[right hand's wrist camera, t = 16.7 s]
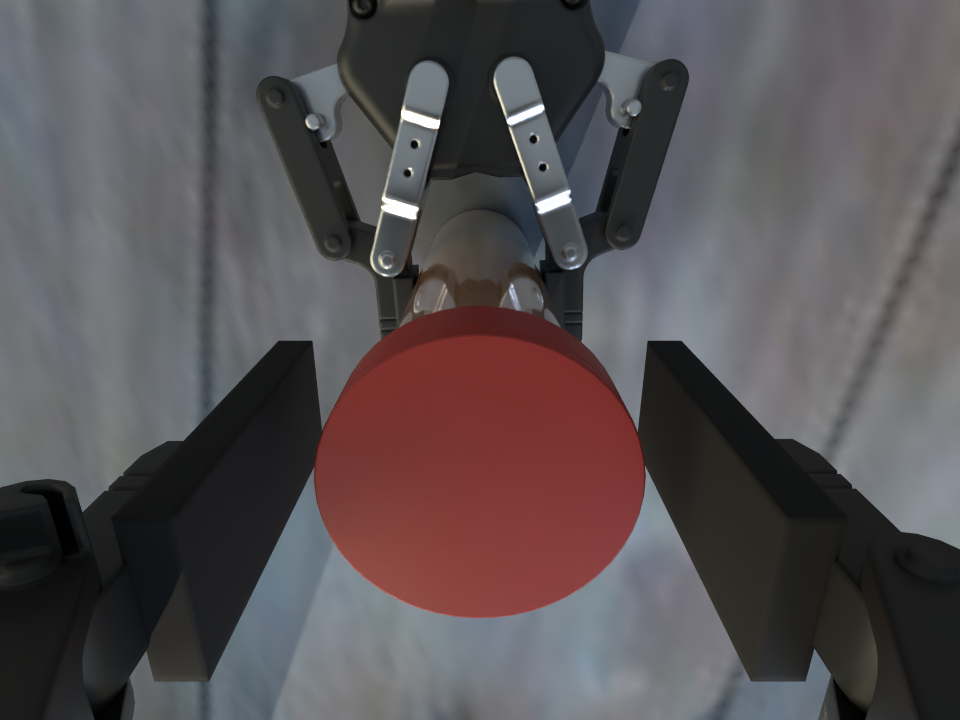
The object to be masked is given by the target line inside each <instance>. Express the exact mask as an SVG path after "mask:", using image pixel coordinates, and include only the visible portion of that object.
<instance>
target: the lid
mask: <svg viewBox="0 0 960 720" xmlns="http://www.w3.org/2000/svg"><path fill="white" fill-rule="evenodd" d="M645 478H646V474H645V460H644V454H643V449H642V445H641V440H640V437H639V435H638V432H637V430H636V427H635V425H634V422H633V420H632V418H631V416H630V414H629V412H628V410H627V408H626V406H625V404H624V402H623V401H622V399H621V397H620V395H619V393H618V391H617V389H616V387H615V385H614V383H613V382H612V380H611V378H610V376H609V375H608V373H607V371H606V370H605V368H604V367H603V365H602V364H601V363H600V362H599V360H598V359H597V358H596V357H595V355H594V354H593V353H592V352H591V351H590V350H589V349H588V348H587V347H586V346H585V345H584V344H583V343H582V342H580V341H579V340H578V339H577V338H575V337H574V336H573V335H571V334H570V333H568V332H567V331H566V330H564V329H563V328H561V327H559V326H557V325H555V324H553V323H551V322H549V321H547V320H545V319H543V318H540V317H537V316H535V315H532V314H529V313H527V312H522V311H518V310H514V309H509V308H503V307H493V306H464V307H457V308H451V309H445V310H441V311H438V312H434V313H431V314H427V315H424V316H422V317H420V318H417V319H415V320H413V321H410V322H408V323H406V324H404V325H403V326H401V327H399V328H398V329H396V330H394V331H393V332H391V333H389V334H388V335H387V336H386V337H384V338H383V339H382V340H381V341H379V342H378V343H377V344H376V345H375V346H374V347H373V348H372V349H371V350H370V351H369V352H368V353H367V354H366V355H365V356H364V357H363V358H362V359H361V361H360V362H359V364H358V365H357V367H356V368H355V369H354V371H353V372H352V374H351V375H350V377H349V379H348V381H347V383H346V385H345V387H344V389H343V391H342V393H341V394H340V396H339V398H338V400H337V402H336V404H335V406H334V408H333V410H332V412H331V414H330V416H329V418H328V420H327V422H326V424H325V426H324V428H323V431H322V434H321V437H320V440H319V443H318V446H317V452H316V458H315V465H314V485H315V492H316V498H317V504H318V507H319V510H320V514H321V517H322V520H323V522H324V525H325V527H326V529H327V531H328V533H329V535H330V537H331V539H332V540H333V542H334V544H335V545H336V547H337V548H338V550H339V551H340V553H341V554H342V555H343V556H344V557H345V559H346V560H347V561H348V562H349V563H350V564H351V566H352V567H353V568H354V569H355V570H357V571H358V572H359V573H360V574H361V575H362V576H363V577H364V578H365V579H366V580H368V581H369V582H371V583H372V584H373V585H375V586H376V587H378V588H379V589H380V590H382V591H384V592H385V593H387V594H389V595H391V596H393V597H394V598H396V599H398V600H400V601H403V602H405V603H407V604H410V605H412V606H415V607H417V608H421V609H424V610H427V611H431V612H434V613H439V614H444V615H450V616H456V617H468V618H494V617H502V616H510V615H516V614H520V613H525V612H529V611H533V610H536V609H539V608H542V607H545V606H548V605H550V604H553V603H555V602H557V601H559V600H561V599H563V598H565V597H568V596H569V595H571V594H572V593H574V592H576V591H577V590H579V589H581V588H582V587H584V586H585V585H586V584H588V583H589V582H590V581H592V580H593V579H594V578H595V577H597V576H598V575H599V574H600V573H601V572H602V571H603V570H604V569H605V568H606V567H607V566H608V565H609V564H610V563H611V562H612V561H613V560H614V558H615V557H616V556H617V554H618V553H619V552H620V551H621V549H622V548H623V547H624V545H625V543H626V541H627V540H628V538H629V536H630V534H631V533H632V531H633V529H634V526H635V524H636V521H637V519H638V516H639V514H640V510H641V505H642V501H643V497H644V489H645Z"/></svg>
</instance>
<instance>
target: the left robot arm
mask: <svg viewBox="0 0 960 720" xmlns="http://www.w3.org/2000/svg"><path fill="white" fill-rule="evenodd" d="M347 7H348V20H347V27H346V32H345V36H344V39H343V41H342V44H341V46H340V49H339V52H338V57H337V63H335V64H332V65H329V66H326V67H324V68H321V69H318V70H315V71H312V72H309V73H307V74H304V75H301V76H298V77H295V78H292V79H285V78H281V77H277V76H269V77H266V78H265V79H263V80H262V81H261V82H260V84H259V85H258V88H257V92H256V97H257V101H258V104H259V107H260V109H261V112H262V114H263V116H264V119H265V121H266V124H267V126H268V129H269V131H270V134H271V136H272V139H273V141H274V144H275V146H276V148H277V151H278V153H279V156H280V158H281V161H282V163H283V166H284V168H285V171H286V173H287V175H288V178H289V180H290V183H291V185H292V188H293V190H294V193H295V195H296V198H297V200H298V203H299V205H300V207H301V210H302V212H303V215H304V217H305V220H306V222H307V225H308V227H309V230H310V232H311V235H312V237H313V239H314V242H315V244H316V247H317V249H318V251H319V252H320V254H321V255H322V256H323V257H325V258H327V259H329V260H334V261H335V260H341V259H342V260H345V261H348V262H352V263H355V264H358V265H361V266H363V267H365V268H366V269H367V270H368V271H369V272H370V273H371V274H372V276H373V278H374V280H375V285H376V294H377V303H378V313H379V320H380V330H381V340H382V339H383V338H384V337H386V336H387V335H388V334H389V333H391V332H393V331H394V330H396V329H397V328H398V325H399V323H400V320H401V318H402V316H403V313H404V311H405V308H406V306H407V303H408V301H409V299H410V296H411V294H412V291H413V289H414V287H415V284H416V282H417V279H418V277H419V267H418V265H412V254H411V253H412V250H413V246H414V242H415V238H416V234H417V230H418V226H419V223H420V219H421V215H422V211H423V208H424V205H425V201H426V198H427V195H428V191H429V187H430V183H431V180H448V179H454V178H457V177H460V176H464V175H467V174H470V173H473V172H479V173H483V174H487V175H492V176H496V177H519V176H522V179H523V182H524V185H525V188H526V190H527V193H528V196H529V198H530V201H531V203H532V206H533V209H534V212H535V215H536V217H537V220H538V223H539V226H540V229H541V232H542V235H543V237H544V240H545V260H540V274H541V277H542V279H543V282H544V284H545V286H546V289H547V291H548V294H549V296H550V298H551V301H552V303H553V306H554V308H555V311H556V313H557V315H558V318H559V320H560V323H561V325H562V328H563V329H564V330H566V331H567V332H568V333H570V334H571V335H573V336H574V337H575V338H577V339H578V340H579V341H580V342H581V340H582V316H583V314H582V312H583V275H584V270H585V268H586V266H587V264H588V263H589V262H590V261H591V260H592V259H593V258H595V257H597V256H599V255H601V254H604V253H606V252H609V251H611V250H614V249H619V250H625V249H628V248H631V247H632V246H634V245H635V244H636V243H637V241H638V240H639V238H640V235H641V232H642V229H643V226H644V223H645V219H646V216H647V213H648V210H649V207H650V203H651V200H652V197H653V194H654V191H655V188H656V184H657V181H658V178H659V175H660V172H661V169H662V165H663V162H664V159H665V156H666V153H667V150H668V146H669V143H670V140H671V137H672V134H673V130H674V127H675V124H676V121H677V118H678V115H679V111H680V108H681V105H682V102H683V99H684V96H685V92H686V89H687V86H688V82H689V74H688V70H687V68H686V67H685V65H684V64H683V63H682V62H680V61H678V60H675V59H668V60H664V61H659V62H655V63H654V62H649V61H645V60H641V59H637V58H633V57H629V56H625V55H621V54H617V53H613V52H609V51H605V47H604V42H603V39H602V37H601V35H600V33H599V31H598V29H597V27H596V24H595V22H594V19H593V15H592V11H591V5H590V0H347ZM595 84H596V85H598V86H599V87H601V88H602V90H603V91H604V93H605V96H606V116H607V119H608V121H609V122H610V123H611V124H612V125H613V126H615V127H617V128H619V131H618V134H617V138H616V141H615V145H614V148H613V152H612V155H611V159H610V162H609V166H608V169H607V173H606V176H605V180H604V183H603V187H602V190H601V194H600V197H599V201H598V204H597V208H596V212H594V213H592V214H589V215H587V216H584V217H582V218H579V219H578V217H577V213H576V210H575V207H574V204H573V201H572V195H571V191H570V187H569V184H568V181H567V178H566V175H565V171H564V168H563V165H562V162H561V159H560V156H559V153H558V150H557V147H556V142H557V141H558V139H559V138H560V136H561V135H562V133H563V132H564V130H565V129H566V127H567V126H568V124H569V123H570V121H571V120H572V118H573V117H574V115H575V114H576V112H577V111H578V109H579V108H580V106H581V105H582V103H583V102H584V100H585V99H586V97H587V96H588V94H589V93H590V91H591V90H592V88H593V87H594V85H595ZM349 95H350V96H351V98H352V99H353V100H354V101H355V103H356V104H357V105H358V106H359V108H360V109H361V110H362V111H363V113H364V114H365V115H366V116H367V118H368V119H369V120H370V121H371V123H372V124H373V125H374V127H375V128H376V129H377V130H378V132H379V133H380V134H381V135H382V137H383V138H384V139H385V140H386V142H387V143H388V144H389V145H390V147H391V148H392V149H393V153H392V157H391V161H390V166H389V170H388V174H387V179H386V183H385V187H384V191H383V196H382V207H381V213H380V217H379V221H378V225H377V227H376V226H372V225H369V224H366V223H363V222H361V221H360V218H359V215H358V213H357V210H356V207H355V205H354V202H353V199H352V197H351V194H350V191H349V189H348V186H347V183H346V181H345V178H344V175H343V172H342V170H341V167H340V164H339V162H338V159H337V156H336V154H335V151H334V148H333V146H332V143H331V140H333V139H335V138H336V137H337V136H338V135H339V134H340V132H341V129H342V119H341V112H340V111H341V105H342V103H343V101H344V100H345V99H346V98H347V97H348V96H349Z"/></svg>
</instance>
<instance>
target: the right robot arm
mask: <svg viewBox="0 0 960 720" xmlns="http://www.w3.org/2000/svg"><path fill="white" fill-rule="evenodd" d="M321 434H322V426H321V417H320V408H319V399H318V389H317V380H316V371H315V361H314V352H313V343H312V341H278V342H277V343H276V344H275V345H274V346H273V347H272V348H271V349H270V351H269V352H268V353H267V354H266V355H265V356H264V357H263V358H262V359H261V360H260V361H259V362H258V363H257V364H256V365H255V366H254V367H253V368H252V369H251V371H250V372H249V373H248V374H247V375H246V376H245V377H244V378H243V379H242V380H241V381H240V382H239V383H238V384H237V385H236V386H235V387H234V388H233V390H232V391H231V392H230V393H229V394H228V395H227V396H226V397H225V398H224V399H223V400H222V401H221V402H220V403H219V404H218V405H217V406H216V407H215V409H214V410H213V411H212V412H211V413H210V414H209V415H208V416H207V417H206V418H205V419H204V420H203V421H202V422H201V423H200V424H199V425H198V426H197V428H196V429H195V430H194V431H193V432H192V433H191V434H190V435H189V436H188V437H187V438H186V439H185V440H184V441H167V442H165V443H163V444H162V445H160V446H158V447H156V448H154V449H153V450H151V451H149V452H147V453H145V454H143V455H142V456H140V457H139V458H138V459H137V460H136V461H135V462H134V463H133V464H132V465H131V466H130V467H129V468H128V469H127V470H126V471H125V472H124V475H123V476H120V477H119V478H118V479H117V480H116V481H115V482H114V483H112V484H111V485H110V486H109V490H108V491H104V492H103V493H102V494H101V495H100V496H99V497H98V498H97V499H96V500H95V501H94V502H93V503H92V504H91V505H90V506H89V507H88V508H87V509H86V510H85V511H83V512H82V510H81V506H80V503H79V499H78V496H77V493H76V489H75V487H73V486H72V485H70V484H69V483H67V482H66V481H59V480H52V479H44V480H34V481H25V482H21V483H17V484H13V485H9V486H5V487H1V488H0V720H132V719H133V712H134V705H135V700H134V693H133V688H132V684H131V681H130V675H131V673H132V672H133V670H134V669H135V667H136V666H137V664H138V662H139V661H140V659H141V658H142V656H143V655H144V653H145V652H146V651H147V655H148V659H149V662H150V666H151V670H152V674H153V677H154V681H209V680H210V678H211V676H212V674H213V672H214V670H215V668H216V666H217V664H218V662H219V660H220V658H221V656H222V654H223V652H224V650H225V647H226V645H227V643H228V641H229V639H230V637H231V635H232V633H233V631H234V629H235V627H236V625H237V623H238V621H239V619H240V617H241V615H242V613H243V611H244V609H245V607H246V605H247V603H248V601H249V599H250V597H251V594H252V592H253V590H254V588H255V586H256V584H257V582H258V580H259V578H260V576H261V574H262V572H263V570H264V568H265V566H266V564H267V562H268V560H269V558H270V556H271V554H272V552H273V550H274V548H275V546H276V543H277V541H278V539H279V537H280V535H281V533H282V531H283V529H284V527H285V525H286V523H287V521H288V519H289V517H290V515H291V513H292V511H293V509H294V507H295V505H296V503H297V501H298V499H299V497H300V495H301V493H302V490H303V488H304V486H305V484H306V482H307V480H308V478H309V476H310V474H311V472H312V470H313V468H314V465H315V458H316V452H317V446H318V443H319V440H320V437H321ZM638 435H639V437H640V440H641V445H642V449H643V454H644V460H645V466H646V468H647V470H648V472H649V474H650V476H651V478H652V480H653V482H654V484H655V486H656V488H657V490H658V493H659V495H660V497H661V499H662V501H663V503H664V505H665V507H666V509H667V511H668V513H669V515H670V517H671V519H672V521H673V523H674V525H675V527H676V529H677V531H678V533H679V535H680V537H681V539H682V541H683V543H684V546H685V548H686V550H687V552H688V554H689V556H690V558H691V560H692V562H693V564H694V566H695V568H696V570H697V572H698V574H699V576H700V578H701V580H702V582H703V584H704V586H705V588H706V590H707V592H708V594H709V597H710V599H711V601H712V603H713V605H714V607H715V609H716V611H717V613H718V615H719V617H720V619H721V621H722V623H723V625H724V627H725V629H726V631H727V633H728V635H729V637H730V639H731V641H732V643H733V645H734V647H735V650H736V652H737V654H738V656H739V658H740V660H741V662H742V664H743V666H744V668H745V670H746V672H747V674H748V676H749V678H750V680H751V681H806V677H807V674H808V670H809V666H810V662H811V659H812V655H813V651H814V648H815V650H816V651H817V653H818V655H819V656H820V658H821V659H822V661H823V662H824V664H825V665H826V667H827V669H828V670H829V672H830V673H831V677H830V681H829V684H828V688H827V691H826V695H825V698H824V702H823V705H822V709H821V712H820V716H819V719H818V720H960V549H958V548H956V547H953V546H951V545H949V544H947V543H945V542H943V541H940V540H937V539H933V538H930V537H926V536H923V535H919V534H914V533H905V532H901V531H899V530H898V529H897V528H896V527H895V526H894V525H893V524H892V523H891V522H890V521H889V520H888V519H887V518H886V517H885V516H884V515H883V514H882V513H881V512H880V511H879V510H878V509H877V508H875V507H874V506H873V505H872V504H871V503H870V502H869V501H868V500H867V499H866V498H865V497H864V496H863V495H862V494H861V493H860V492H859V491H858V490H857V489H852V485H851V484H850V483H849V482H848V481H847V480H846V479H845V478H844V477H843V476H842V475H841V474H837V470H836V469H835V468H834V467H833V466H832V465H831V464H830V463H829V462H827V461H826V460H825V459H824V458H823V457H822V456H821V455H820V454H819V453H817V452H815V451H814V450H812V449H810V448H808V447H806V446H804V445H803V444H801V443H799V442H797V441H795V440H793V439H774V438H773V437H772V436H771V435H770V434H769V433H768V432H767V431H766V430H765V429H764V428H763V426H762V425H761V424H760V423H759V422H758V421H757V420H756V419H755V418H754V417H753V416H752V415H751V414H750V413H749V412H748V411H747V410H746V409H745V407H744V406H743V405H742V404H741V403H740V402H739V401H738V400H737V399H736V398H735V397H734V396H733V395H732V394H731V393H730V392H729V391H728V390H727V388H726V387H725V386H724V385H723V384H722V383H721V382H720V381H719V380H718V379H717V378H716V377H715V376H714V375H713V374H712V373H711V372H710V371H709V370H708V368H707V367H706V366H705V365H704V364H703V363H702V362H701V361H700V360H699V359H698V358H697V357H696V356H695V355H694V354H693V353H692V352H691V351H690V349H689V348H688V347H687V346H686V345H685V344H684V343H683V342H682V341H648V343H647V352H646V361H645V371H644V380H643V389H642V399H641V408H640V417H639V426H638Z"/></svg>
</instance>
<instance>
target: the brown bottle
mask: <svg viewBox="0 0 960 720" xmlns="http://www.w3.org/2000/svg"><path fill="white" fill-rule="evenodd" d="M464 306H493V307H503V308H509V309H514V310H518V311H522V312H527V313H529V314H532V315H535V316H537V317H540V318H543V319H545V320H547V321H549V322H551V323H553V324H555V325H557V326H559V327H561V328H562V325H561V323H560V320H559V318H558V315H557V313H556V311H555V308H554V306H553V303H552V301H551V298H550V296H549V294H548V291H547V289H546V286H545V284H544V282H543V279H542V277H541V274H540V272H539V269H538V267H537V265H536V262H535V260H534V257H533V255H532V252H531V250H530V248H529V245H528V243H527V240H526V238H525V236H524V234H523V233H522V231H521V230H520V228H519V227H518V226H517V225H516V224H515V223H514V222H513V221H511V220H510V219H509V218H507V217H506V216H504V215H502V214H500V213H497V212H494V211H490V210H470V211H466V212H463V213H460V214H458V215H456V216H454V217H453V218H451V219H450V220H449V221H447V222H446V223H445V224H444V225H443V226H442V227H441V229H440V230H439V231H438V233H437V235H436V236H435V238H434V241H433V243H432V245H431V248H430V250H429V253H428V255H427V258H426V260H425V262H424V265H423V267H422V270H421V272H420V274H419V277H418V279H417V282H416V284H415V287H414V289H413V291H412V294H411V296H410V299H409V301H408V303H407V306H406V308H405V311H404V313H403V316H402V318H401V320H400V323H399V325H398V328H399V327H401V326H403V325H404V324H406V323H408V322H410V321H413V320H415V319H417V318H420V317H422V316H424V315H427V314H431V313H434V312H438V311H441V310H445V309H451V308H457V307H464ZM398 328H397V329H398Z"/></svg>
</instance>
